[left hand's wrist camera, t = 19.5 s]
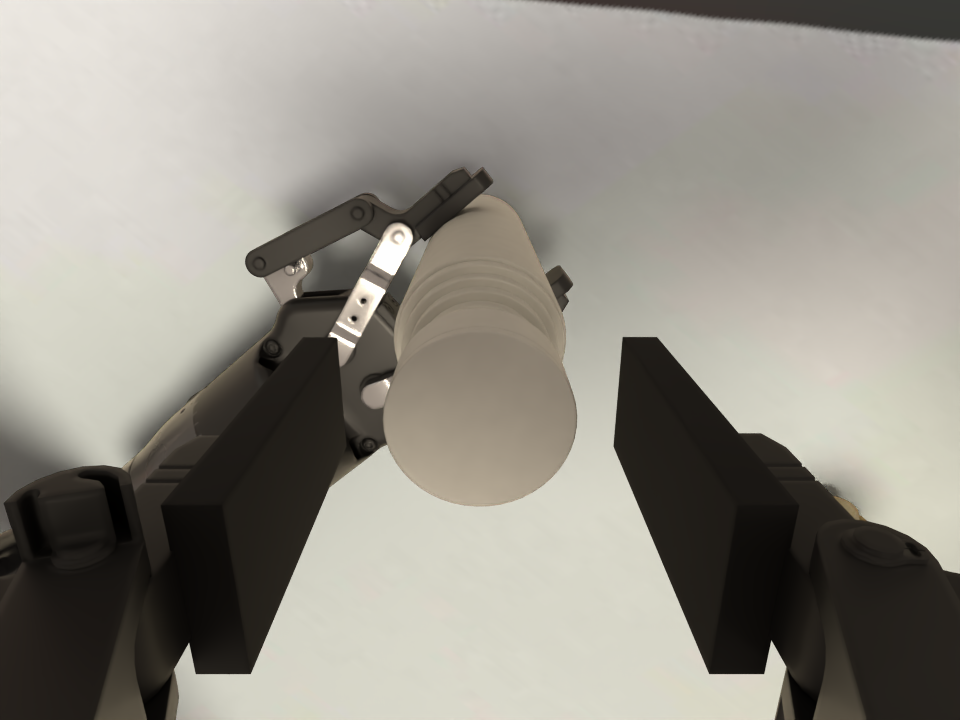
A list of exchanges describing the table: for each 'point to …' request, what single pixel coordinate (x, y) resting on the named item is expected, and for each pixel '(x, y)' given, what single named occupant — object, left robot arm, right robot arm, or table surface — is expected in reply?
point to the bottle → (480, 274)
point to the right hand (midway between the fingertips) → (526, 226)
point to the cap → (479, 408)
